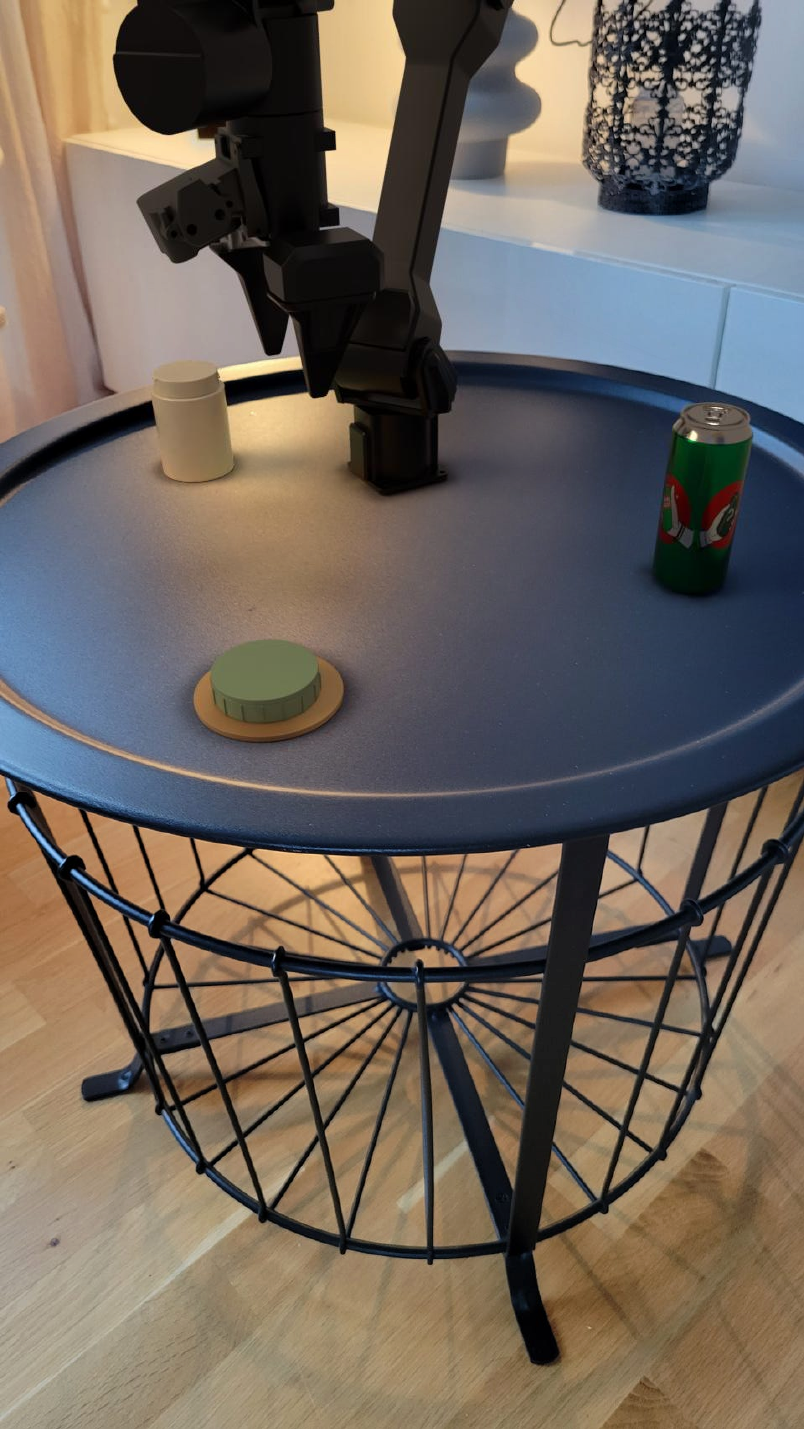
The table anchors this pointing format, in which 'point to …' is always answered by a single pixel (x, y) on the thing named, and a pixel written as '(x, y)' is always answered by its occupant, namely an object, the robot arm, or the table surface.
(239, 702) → the lid
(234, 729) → the coaster
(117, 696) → the table surface
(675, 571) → the soda can
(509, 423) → the table surface
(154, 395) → the jar
